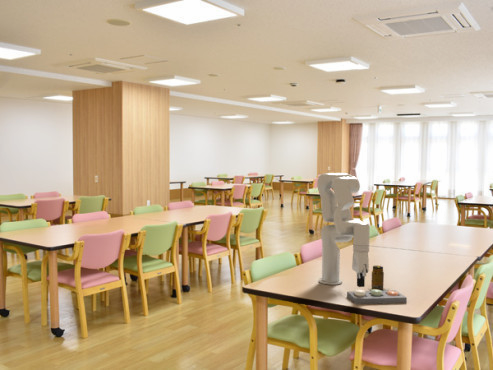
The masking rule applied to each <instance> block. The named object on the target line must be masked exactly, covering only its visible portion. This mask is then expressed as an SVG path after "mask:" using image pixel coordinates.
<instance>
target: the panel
mask: <svg viewBox="0 0 493 370" xmlns="http://www.w3.org/2000/svg"><path fill="white" fill-rule="evenodd" d="M364 291H365V297H356V296H355V290H353V291H347V292H346V297H347V298H348V299H349V300H350V301H351V302H353V303H354V304H355V305H372V304H375V305H377V304H404V303H405V304H407V299H408V297H407V296H404V294H402V293H400V292H399V291H397V290H396V289H394V290H393V289H392V290H390V289H389V290H387V291H382V296H372V295H371V290H364ZM388 291H395V292H398V296H389V295H388V294H387V292H388Z"/></svg>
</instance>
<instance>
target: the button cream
mask: <svg viewBox="0 0 493 370" xmlns="http://www.w3.org/2000/svg"><path fill="white" fill-rule="evenodd" d="M354 291H355V296H356V297H365V291H366V290H363V289H355V290H354Z"/></svg>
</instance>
